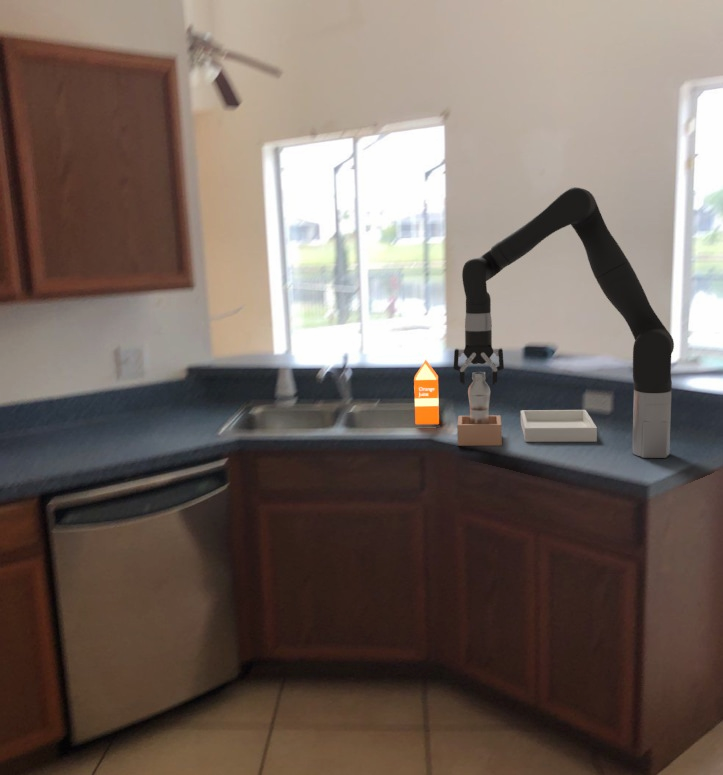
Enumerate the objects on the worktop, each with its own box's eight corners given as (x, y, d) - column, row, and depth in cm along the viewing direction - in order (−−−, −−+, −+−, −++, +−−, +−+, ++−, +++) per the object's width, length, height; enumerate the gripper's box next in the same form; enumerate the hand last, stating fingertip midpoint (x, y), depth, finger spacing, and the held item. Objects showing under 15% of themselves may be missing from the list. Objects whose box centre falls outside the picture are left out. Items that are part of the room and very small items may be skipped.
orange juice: (439, 418, 257) (437, 358, 253) (439, 424, 248) (437, 362, 245) (415, 418, 258) (414, 359, 254) (414, 424, 249) (413, 363, 245)
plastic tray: (596, 441, 219) (596, 427, 218) (525, 441, 222) (525, 428, 221) (585, 422, 242) (585, 409, 242) (520, 422, 245) (520, 410, 245)
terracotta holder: (501, 445, 219) (501, 424, 218) (457, 445, 221) (457, 425, 220) (500, 434, 231) (500, 415, 230) (458, 434, 233) (458, 415, 232)
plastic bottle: (464, 439, 228) (462, 372, 224) (484, 436, 230) (483, 370, 226) (474, 443, 222) (473, 375, 218) (495, 441, 224) (494, 373, 221)
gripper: (452, 330, 217) (453, 386, 220) (504, 329, 215) (504, 386, 218) (453, 327, 225) (454, 382, 228) (503, 326, 223) (503, 381, 226)
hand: (478, 384), depth 223 cm, fingers open, 8 cm apart
